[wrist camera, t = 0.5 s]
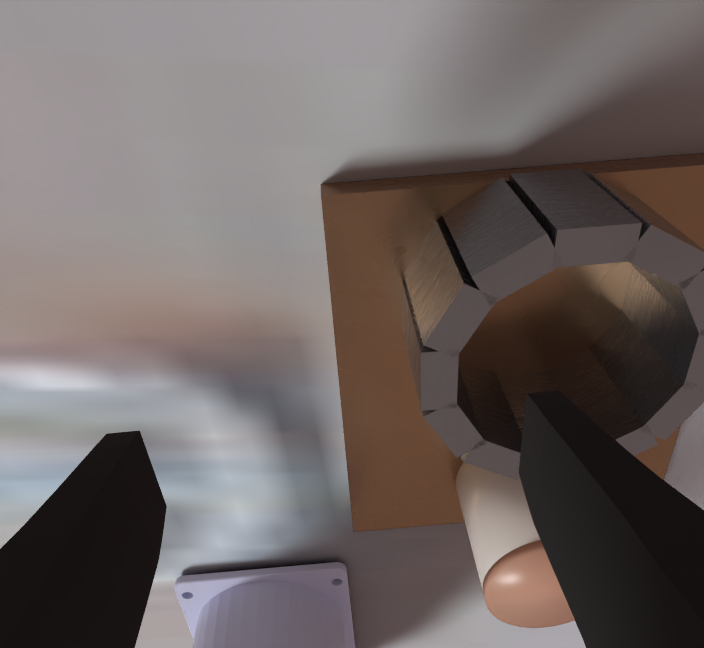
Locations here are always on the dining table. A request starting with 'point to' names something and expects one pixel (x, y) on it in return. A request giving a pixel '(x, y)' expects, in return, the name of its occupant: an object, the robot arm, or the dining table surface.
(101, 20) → the dining table surface
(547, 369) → the peg hole base
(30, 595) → the robot arm
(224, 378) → the dining table surface
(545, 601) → the cylindrical peg
